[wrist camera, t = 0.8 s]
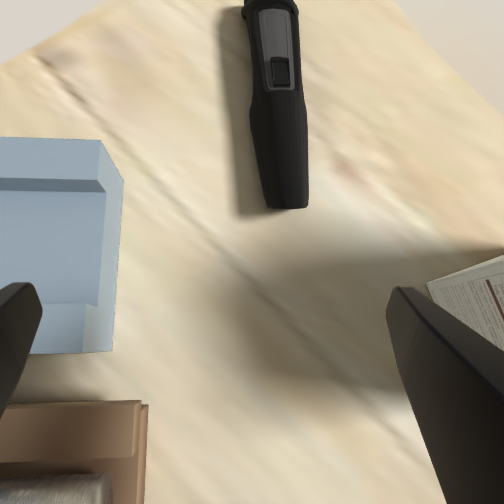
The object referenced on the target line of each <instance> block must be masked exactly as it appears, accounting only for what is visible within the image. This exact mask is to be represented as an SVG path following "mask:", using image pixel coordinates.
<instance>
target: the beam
mask: <svg viewBox="0 0 504 504" xmlns="http://www.w3.org/2000/svg"><path fill="white" fill-rule="evenodd" d="M147 425H148V405H141V400H124V401H89V402H54V403H20V404H8V405H7V407H6V409H5V411H4V413H3V415H2V417H1V420H0V478H13V477H35V476H57V475H78V474H100V473H108V474H109V476H110V478H111V482H112V490H113V504H144V491H145V469H146V447H147Z"/></svg>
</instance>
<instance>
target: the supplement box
mask: <svg viewBox="0 0 504 504" xmlns="http://www.w3.org/2000/svg"><path fill="white" fill-rule="evenodd" d="M427 287H428V290H429V292H430V294H431V297H432V299H433V302H435V303H436V304H438V305H439V306H441V307H442V308H443V309H445V310H446V311H448V312H449V313H450V314H452V315H453V316H455V317H456V318H458V319H459V320H460V321H462V322H463V323H465V324H466V325H467V326H469V327H470V328H472V329H473V330H475V331H476V332H477V333H479V334H480V335H482V336H483V337H484V338H486V339H487V340H489V341H490V342H492V343H493V344H494V345H496V346H497V347H499V348H500V349H501V350H503V351H504V255H502V256H499V257H496V258H493V259H491V260H488V261H485V262H482V263H480V264H477V265H474V266H472V267H469V268H466V269H463V270H461V271H458V272H455V273H453V274H450V275H447V276H444V277H441V278H438V279H435V280H432V281H430V282H427Z"/></svg>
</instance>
